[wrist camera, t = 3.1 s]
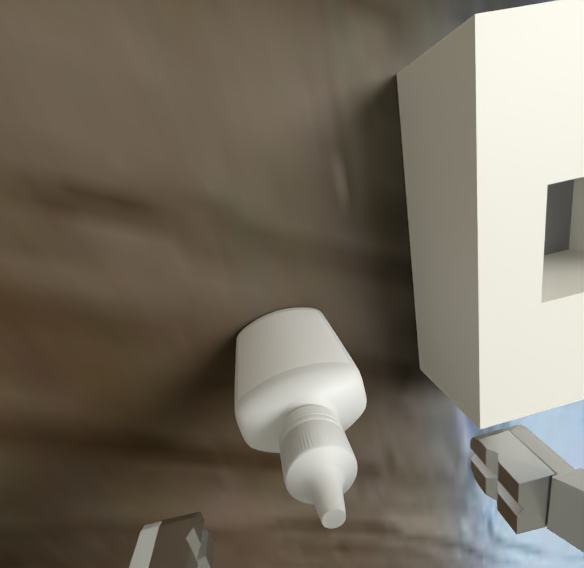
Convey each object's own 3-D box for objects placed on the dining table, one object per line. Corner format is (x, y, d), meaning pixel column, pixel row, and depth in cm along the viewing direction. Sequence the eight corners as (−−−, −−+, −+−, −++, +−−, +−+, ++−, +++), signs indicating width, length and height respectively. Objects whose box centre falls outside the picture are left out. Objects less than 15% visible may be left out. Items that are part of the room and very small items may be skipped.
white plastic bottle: (245, 293, 19) (249, 446, 8) (332, 309, 20) (448, 462, 9) (231, 358, 20) (217, 576, 9) (315, 369, 21) (399, 575, 10)
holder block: (594, 322, 24) (705, 363, 18) (419, 368, 22) (480, 429, 17) (626, 32, 18) (803, -40, 12) (396, 73, 17) (474, 14, 11)
